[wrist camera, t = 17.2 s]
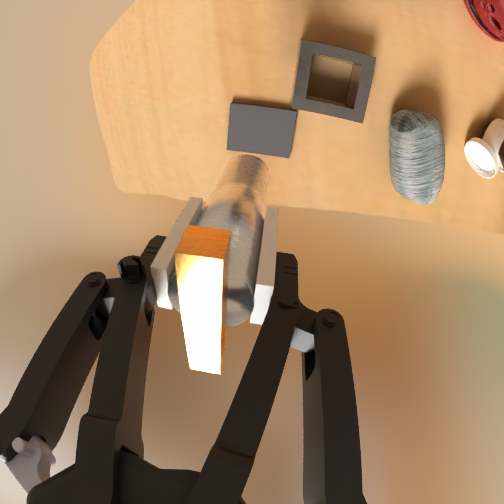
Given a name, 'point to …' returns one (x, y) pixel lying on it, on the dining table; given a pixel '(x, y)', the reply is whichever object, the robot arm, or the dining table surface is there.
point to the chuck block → (357, 86)
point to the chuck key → (221, 261)
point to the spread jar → (487, 150)
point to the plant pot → (488, 16)
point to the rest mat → (261, 129)
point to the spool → (416, 155)
